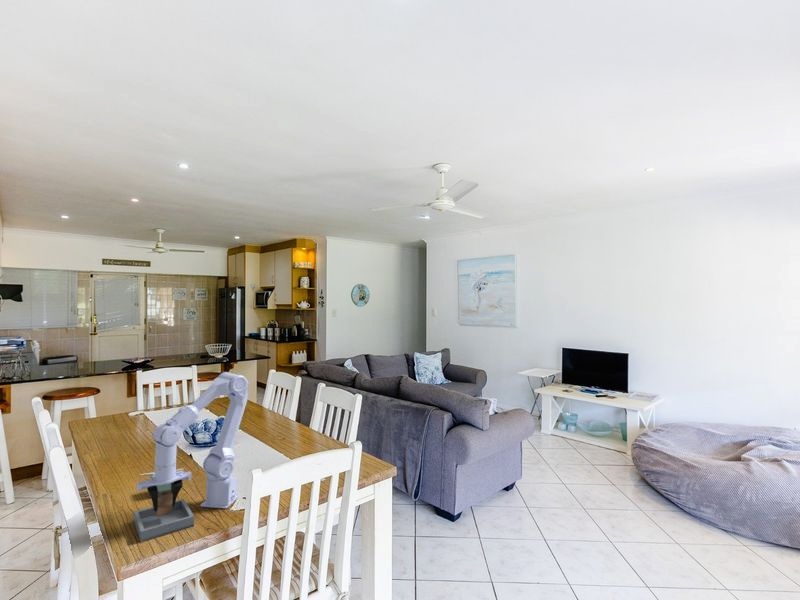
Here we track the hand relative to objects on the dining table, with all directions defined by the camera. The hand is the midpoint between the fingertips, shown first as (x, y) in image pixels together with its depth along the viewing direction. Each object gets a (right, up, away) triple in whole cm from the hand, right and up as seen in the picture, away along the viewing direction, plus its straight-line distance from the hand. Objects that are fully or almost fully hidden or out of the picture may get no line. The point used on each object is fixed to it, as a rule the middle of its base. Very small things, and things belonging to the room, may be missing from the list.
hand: (164, 507), depth 126 cm
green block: (-12, -5, +20) cm, 24 cm away
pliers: (-20, -5, +33) cm, 39 cm away
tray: (0, -5, 0) cm, 5 cm away
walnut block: (0, -2, 0) cm, 2 cm away
